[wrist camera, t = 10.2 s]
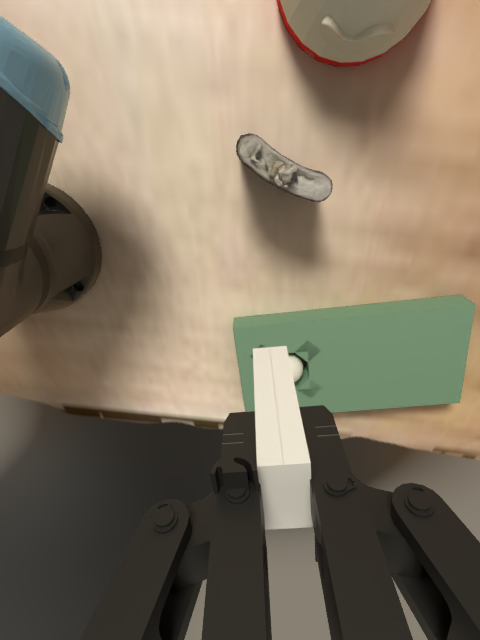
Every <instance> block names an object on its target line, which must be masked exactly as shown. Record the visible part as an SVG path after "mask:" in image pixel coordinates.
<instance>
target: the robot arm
mask: <svg viewBox="0 0 480 640" xmlns="http://www.w3.org/2000/svg"><path fill="white" fill-rule="evenodd" d="M69 95H70V85H69V80H68V77H67V74H66V72H65V70H64V68H63V67H62V65H61V64H60V62H59V61H58V60H57V59H56V58H55V57H54V56H53V55H52V54H51V53H50V52H48V51H47V50H46V49H45V48H43V47H42V46H41V45H39V44H38V43H37V42H36V41H34V40H33V39H32V38H30V37H29V36H28V35H26V34H25V33H24V32H22V31H21V30H20V29H18V28H17V27H15V26H14V25H13V24H11V23H10V22H9V21H7V20H6V19H5V18H3V17H2V16H0V337H1V336H2V335H4V334H5V333H7V332H8V331H9V330H11V329H12V328H13V327H15V326H16V325H18V324H19V323H20V322H22V321H23V320H24V319H26V318H27V317H28V316H30V315H31V314H35V313H41V312H46V311H52V310H57V309H61V308H64V307H66V306H69V305H70V304H72V303H74V302H76V301H77V300H78V299H79V298H81V297H82V296H83V295H84V294H86V293H87V292H88V291H89V290H90V289H91V287H92V286H93V285H94V283H95V281H96V279H97V277H98V275H99V271H100V267H101V246H100V242H99V238H98V235H97V232H96V230H95V228H94V226H93V224H92V222H91V220H90V218H89V217H88V215H87V214H86V213H85V211H84V210H83V209H82V208H81V207H80V206H79V204H78V203H77V202H76V201H74V200H73V199H72V198H71V197H70V196H69V195H67V194H66V193H64V192H63V191H61V190H60V189H58V188H56V187H54V186H52V185H50V184H48V183H47V182H48V178H49V175H50V171H51V168H52V164H53V160H54V157H55V153H56V150H57V146H58V143H59V142H60V143H62V141H63V134H62V132H61V131H62V127H63V122H64V118H65V113H66V109H67V105H68V100H69ZM253 370H254V399H255V411H251V412H238V413H230V414H229V416H228V417H227V419H226V420H225V422H224V427H223V440H222V453H221V459H220V460H218V461H217V462H216V464H215V465H214V466H213V468H212V471H211V474H210V475H211V479H212V485H213V490H214V491H213V492H212V493H211V494H210V495H208V496H207V497H206V498H204V499H202V500H200V501H198V502H195V503H192V504H190V505H187V506H185V505H184V504H183V503H182V502H181V501H178V500H175V499H168V500H164V501H161V502H158V503H157V504H155V505H154V506H152V507H151V508H150V509H149V510H148V511H147V513H146V514H145V515H144V517H143V519H142V521H141V523H140V525H139V527H138V529H137V530H136V532H135V534H134V536H133V538H132V540H131V542H130V544H129V546H128V548H127V549H126V551H125V553H124V555H123V557H122V559H121V561H120V563H119V565H118V566H117V569H116V570H115V572H114V574H113V576H112V578H111V580H110V582H109V584H108V586H107V588H106V589H105V591H104V593H103V595H102V597H101V599H100V601H99V603H98V605H97V606H96V608H95V610H94V612H93V614H92V616H91V618H90V620H89V622H88V624H87V626H86V627H85V629H84V631H83V633H82V635H81V637H80V639H79V640H184V638H185V635H186V632H187V629H188V626H189V622H190V619H191V616H192V613H193V610H194V607H195V603H196V600H197V597H198V594H199V591H200V588H201V584H202V581H203V580H205V579H207V584H206V597H205V608H204V618H203V630H202V640H272V635H271V616H270V599H269V581H268V564H267V563H268V562H267V547H266V538H265V530H267V529H268V530H269V529H286V528H304V527H314V533H315V555H316V556H315V557H316V558H315V559H316V562H318V565H319V571H320V577H321V583H322V589H323V594H324V600H325V606H326V612H327V617H328V623H329V629H330V635H331V640H413V638H412V636H411V633H410V630H409V627H408V624H407V621H406V618H405V615H404V612H403V609H402V606H401V603H400V600H399V597H398V594H397V591H396V588H395V586H394V582H393V580H394V581H395V583H396V585H397V586H398V588H399V590H400V592H401V593H402V595H403V597H404V599H405V600H406V602H407V604H408V605H409V607H410V609H411V611H412V612H413V614H414V616H415V618H416V619H417V621H418V623H419V625H420V626H421V628H422V630H423V632H424V633H425V635H426V637H427V638H428V640H480V542H479V541H478V540H477V539H476V538H475V536H474V535H473V534H472V533H471V532H470V531H469V530H468V528H467V527H466V526H465V525H464V524H463V523H462V521H461V520H460V519H459V518H458V517H457V516H456V514H455V513H454V512H453V511H452V510H451V509H450V508H449V506H448V505H447V504H446V503H445V502H444V501H443V499H442V498H441V497H440V496H439V495H438V494H436V493H435V492H434V491H433V490H431V489H429V488H427V487H425V486H423V485H418V484H414V483H408V484H402V485H400V486H399V487H397V488H396V489H395V490H394V492H388V491H384V490H379V489H375V488H372V487H369V486H367V485H365V484H364V483H362V482H361V481H360V480H358V479H357V478H356V477H355V476H354V474H353V473H352V471H351V469H350V467H349V464H348V461H347V457H346V454H345V451H344V448H343V445H342V442H341V439H340V436H339V433H338V430H337V427H336V424H335V421H334V418H333V415H332V413H331V412H330V411H329V410H328V409H327V408H326V407H325V406H324V405H319V406H305V407H299V404H298V399H297V394H296V390H295V385H294V380H293V375H292V370H291V366H290V361H289V356H288V351H287V346H278V347H266V348H255V349H253ZM391 576H392V577H391ZM392 578H393V579H392Z"/></svg>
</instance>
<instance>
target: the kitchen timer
mask: <svg viewBox="0 0 480 640" xmlns="http://www.w3.org/2000/svg"><path fill="white" fill-rule="evenodd" d="M277 2H278V7H279V10H280V12H281V15H282V18H283V21H284V23H285V26H286V29H287V30H288V32H289V33H290V35H291V36H292V37H293V39H294V40H295V42H296V43H297V44H298V46H299V47H300V48H301V49H302V50H303V51H305V52H306V53H307V54H309V55H310V56H312V57H313V58H314V59H316V60H317V61H320V62H323V63H326V64H330V65H333V66H336V67H339V66H358V65H360V64H363V63H365V62H368V61H370V60H373V59H376V58H378V57H380V56H381V55H382V54H384V53H385V52H386V51H387V50H389V49H390V48H391V47H393V46H394V45H395V44H397V43H398V42H399V41H401V40H402V39H403V38H404V37H405V36H406V35H407V34H408V33H409V31H410V30H411V29H412V28H413V26H414V25H415V24H416V23H417V21H418V20H419V19H420V18H421V16H422V15H423V14H424V13H425V11H426V10H427V8H428V6H429V4H430V2H431V0H277Z"/></svg>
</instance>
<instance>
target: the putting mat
mask: <svg viewBox="0 0 480 640" xmlns="http://www.w3.org/2000/svg"><path fill="white" fill-rule="evenodd" d="M474 310H475V303H473V302H472V301H470V300H469V299H467V298H466V297H464V296H463V295H453V296H443V297H434V298H424V299H414V300H404V301H394V302H385V303H375V304H365V305H355V306H345V307H336V308H326V309H316V310H306V311H296V312H287V313H277V314H267V315H257V316H247V317H238V318H234V323H233V333H234V339H235V346H236V352H237V359H238V366H239V372H240V379H241V385H242V392H243V399H244V405H245V412H251V411H255V399H254V370H253V349H255V348H266V347H278V346H287V351H288V353H296V354H297V355H298V356H300V357H301V358H303V359H304V360H305V361H306V366H305V367H304V368H303V373H302V376H301V377H300V379H299V380H297V381H296V382H294V385H295V390H296V394H297V399H298V404H299V407H305V406H319V405H324V406H325V407H326V408H327V409H328V410H329V411H330V412H331V413H335V412H348V411H361V410H374V409H386V408H399V407H412V406H425V405H438V404H451V403H460V399H461V392H462V386H463V380H464V373H465V367H466V360H467V354H468V348H469V341H470V335H471V329H472V322H473V316H474Z"/></svg>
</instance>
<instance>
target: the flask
mask: <svg viewBox="0 0 480 640" xmlns="http://www.w3.org/2000/svg"><path fill="white" fill-rule="evenodd" d="M236 149H237V150H236V152H237V155H238V157H239V159H240V160H241V161H242V162H243V163H244V164H245V165H246V166H247V167H249V168H250V169H251V170H252V171H254V172H255V173H256V174H257V175H259V176H260V177H261V178H263V179H264V180H265V181H267V182H269V183H270V184H272V185H274V186H276V187H277V188H279V189H281V190H284V191H285V192H288V193H290V194H293V195H295V196H298V197H301V198H304V199H307V200H311V201H317V202H321V201H324V200H325V199H327V198H328V197H329V195H330V194H331V192H332V185H333V184H332V180H331V179H330V178H329V177H328V176H327V175H325V174H324V173H322V172H320V171H315V170H311V169H308V168H305V167H303V166H301V165H299V164H297V163H295V162H294V161H292V160H290V159H289V158H287V157H285V156H283V155H281V154H280V153H279V152H277V151H276V150H275V149H273V148H272V147H271V146H270V145H268V144H267V143H266V142H265V141H264V140H263V139H262V138H260V137H259V136H257V135H254V134H245V135H241V136H240V138H239V140H238V141H237V145H236Z"/></svg>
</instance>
